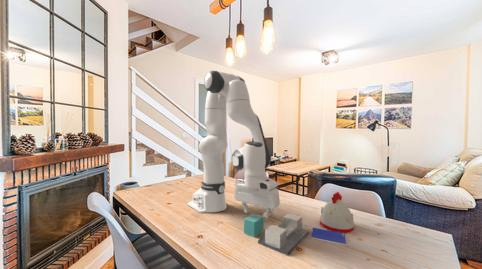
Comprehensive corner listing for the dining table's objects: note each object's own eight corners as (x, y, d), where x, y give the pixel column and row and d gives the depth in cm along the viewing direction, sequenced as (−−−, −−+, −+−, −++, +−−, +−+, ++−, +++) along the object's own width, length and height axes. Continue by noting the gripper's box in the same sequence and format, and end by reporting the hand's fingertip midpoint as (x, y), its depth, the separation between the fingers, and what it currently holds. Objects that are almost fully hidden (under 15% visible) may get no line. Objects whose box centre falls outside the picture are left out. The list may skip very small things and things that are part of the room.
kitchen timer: (313, 224, 94) (314, 191, 93) (328, 216, 103) (329, 186, 102) (345, 236, 83) (346, 199, 83) (359, 226, 92) (360, 193, 92)
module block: (243, 233, 84) (244, 218, 84) (253, 227, 90) (253, 213, 90) (253, 237, 81) (254, 222, 81) (263, 231, 87) (263, 216, 87)
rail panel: (257, 243, 77) (258, 227, 77) (282, 224, 93) (282, 211, 93) (287, 255, 70) (287, 237, 70) (308, 233, 85) (309, 218, 85)
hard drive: (344, 232, 84) (312, 226, 89) (346, 242, 76) (311, 235, 81) (344, 236, 84) (312, 230, 89) (346, 246, 76) (311, 239, 81)
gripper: (230, 179, 88) (231, 211, 89) (273, 186, 76) (274, 223, 76) (239, 176, 93) (240, 207, 94) (281, 182, 81) (281, 217, 81)
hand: (256, 214), depth 85 cm, fingers open, 8 cm apart
